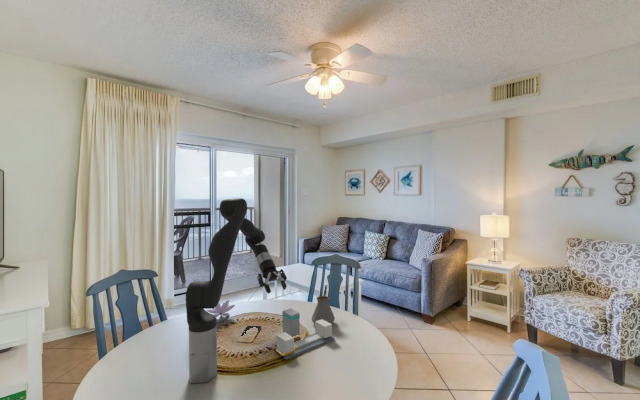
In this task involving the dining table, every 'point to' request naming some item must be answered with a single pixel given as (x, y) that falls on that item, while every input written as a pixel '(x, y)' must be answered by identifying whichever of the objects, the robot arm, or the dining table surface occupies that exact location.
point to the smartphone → (249, 328)
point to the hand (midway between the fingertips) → (277, 290)
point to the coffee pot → (323, 309)
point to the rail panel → (305, 340)
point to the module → (291, 322)
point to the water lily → (221, 309)
